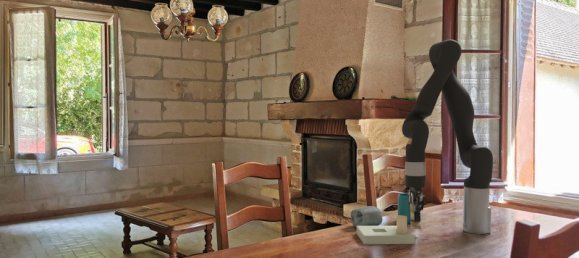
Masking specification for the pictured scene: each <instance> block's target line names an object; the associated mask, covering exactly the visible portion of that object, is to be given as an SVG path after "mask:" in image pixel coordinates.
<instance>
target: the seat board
mask: <svg viewBox="0 0 579 258" xmlns="http://www.w3.org/2000/svg"><path fill="white" fill-rule="evenodd" d="M356 235H357V237H358V238H359V239H360V240H361V242H362V243H363V245H416V235H415V233H413V232H412V231H411V230H410V229H408V223H407V216H403V215H398V214H397V215H396V225H378V226H357V228H356Z"/></svg>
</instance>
